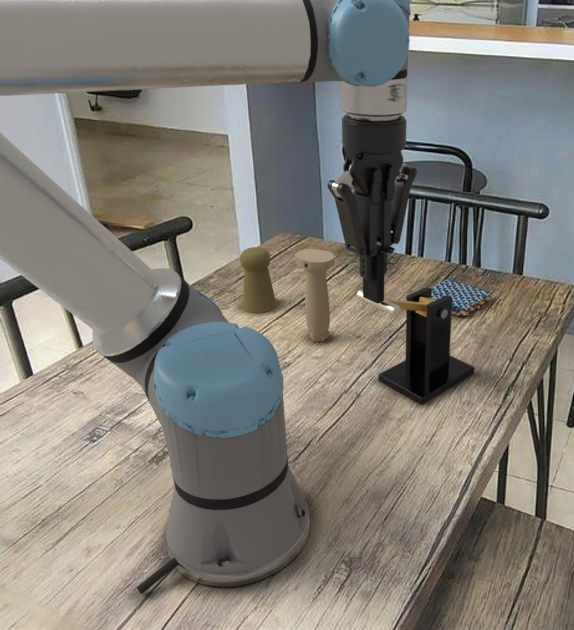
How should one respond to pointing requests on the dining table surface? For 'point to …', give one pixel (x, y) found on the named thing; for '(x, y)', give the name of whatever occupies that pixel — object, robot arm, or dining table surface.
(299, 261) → the handle
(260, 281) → the olive pawn shaped figure
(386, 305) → the lever
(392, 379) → the bracket
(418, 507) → the dining table surface
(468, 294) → the woven mat
